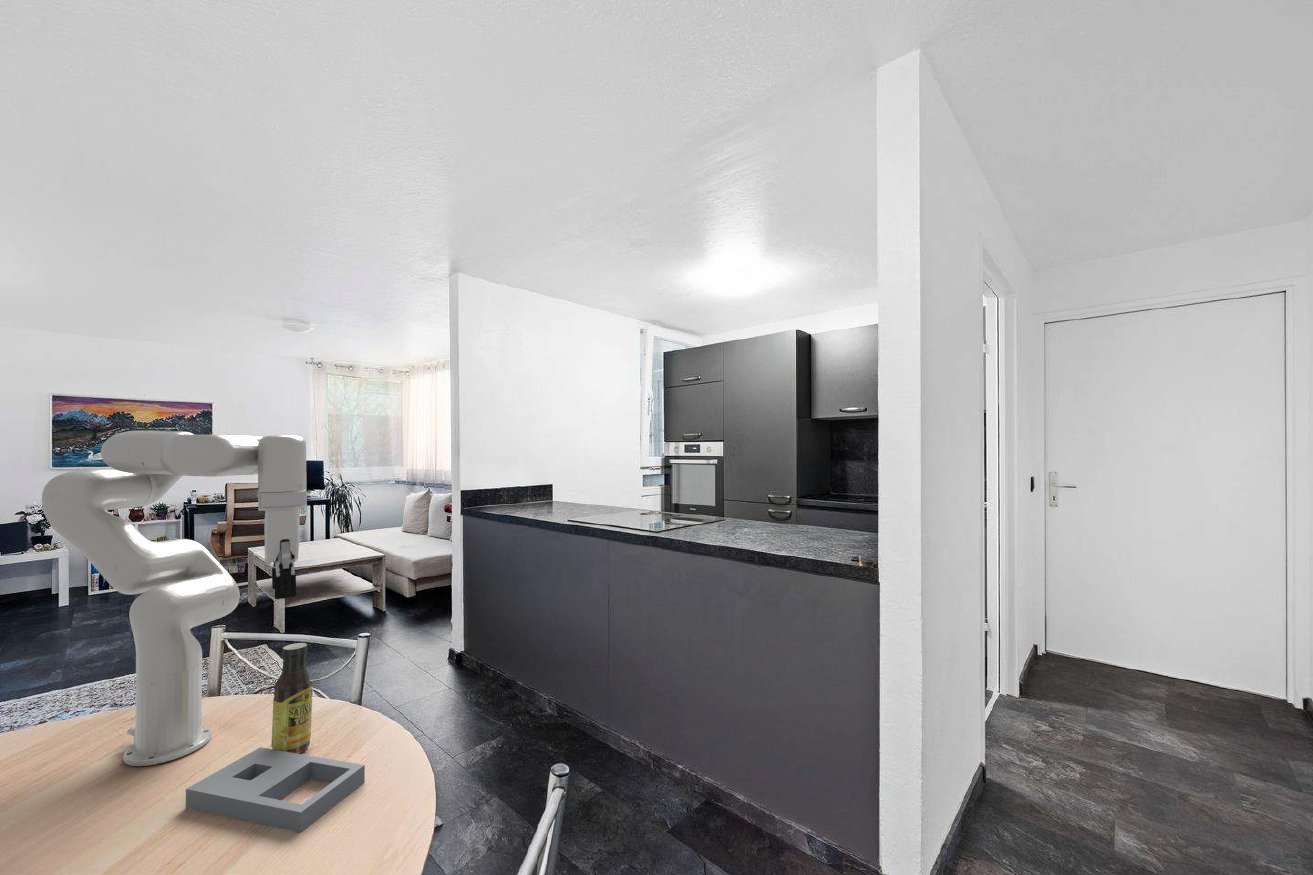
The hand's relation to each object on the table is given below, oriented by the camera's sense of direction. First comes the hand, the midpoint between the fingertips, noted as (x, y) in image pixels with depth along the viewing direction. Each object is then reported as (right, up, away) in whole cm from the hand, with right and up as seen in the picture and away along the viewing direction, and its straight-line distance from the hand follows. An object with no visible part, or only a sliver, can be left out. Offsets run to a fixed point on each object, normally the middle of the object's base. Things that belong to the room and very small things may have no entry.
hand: (283, 592), depth 101 cm
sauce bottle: (0, -31, +2) cm, 31 cm away
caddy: (+7, -31, -11) cm, 33 cm away
